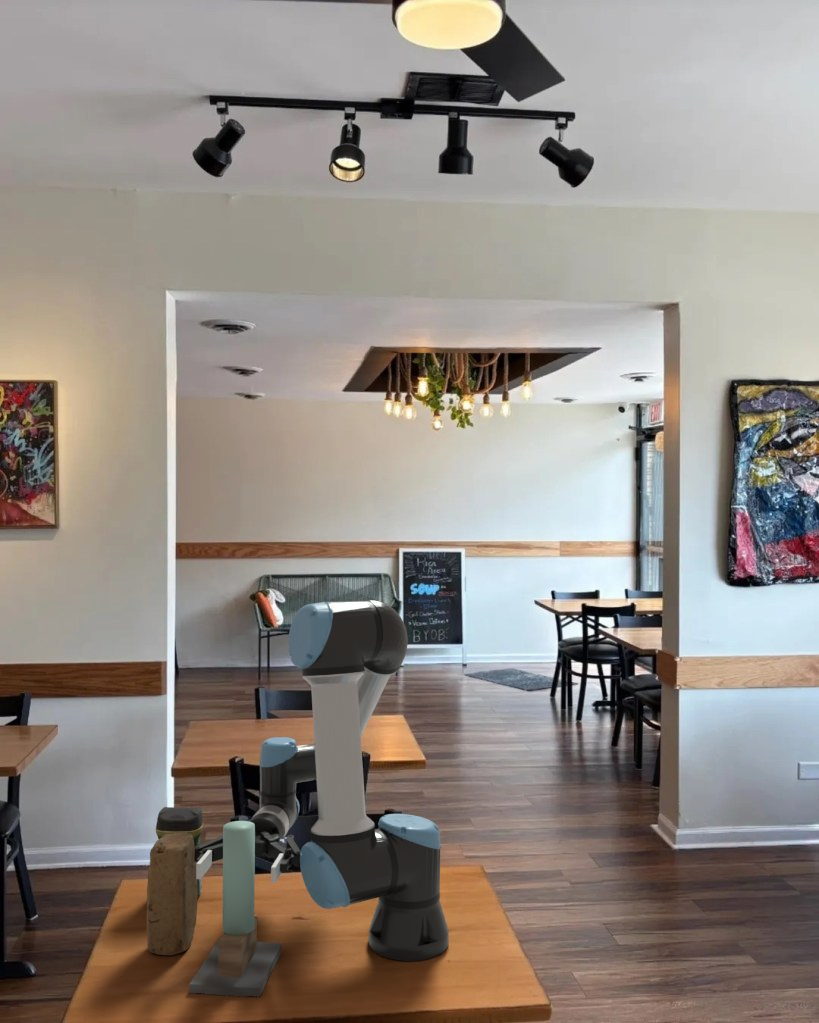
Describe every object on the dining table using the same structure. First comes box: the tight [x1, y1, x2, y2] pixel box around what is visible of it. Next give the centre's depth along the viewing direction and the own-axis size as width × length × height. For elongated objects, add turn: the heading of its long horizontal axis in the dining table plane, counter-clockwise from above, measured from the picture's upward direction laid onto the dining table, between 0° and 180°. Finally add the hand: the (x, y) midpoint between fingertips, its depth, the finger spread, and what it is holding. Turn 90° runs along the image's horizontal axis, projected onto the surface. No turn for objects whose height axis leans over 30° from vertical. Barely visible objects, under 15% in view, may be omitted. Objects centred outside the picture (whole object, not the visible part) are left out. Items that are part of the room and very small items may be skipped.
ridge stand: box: [188, 915, 283, 998], centre depth 158 cm, size 16×12×8 cm
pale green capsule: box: [222, 820, 256, 936], centre depth 158 cm, size 6×6×18 cm
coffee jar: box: [155, 806, 204, 898], centre depth 189 cm, size 10×8×19 cm
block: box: [146, 833, 198, 956], centre depth 168 cm, size 11×8×20 cm
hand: (235, 873), depth 157 cm, fingers open, 13 cm apart
